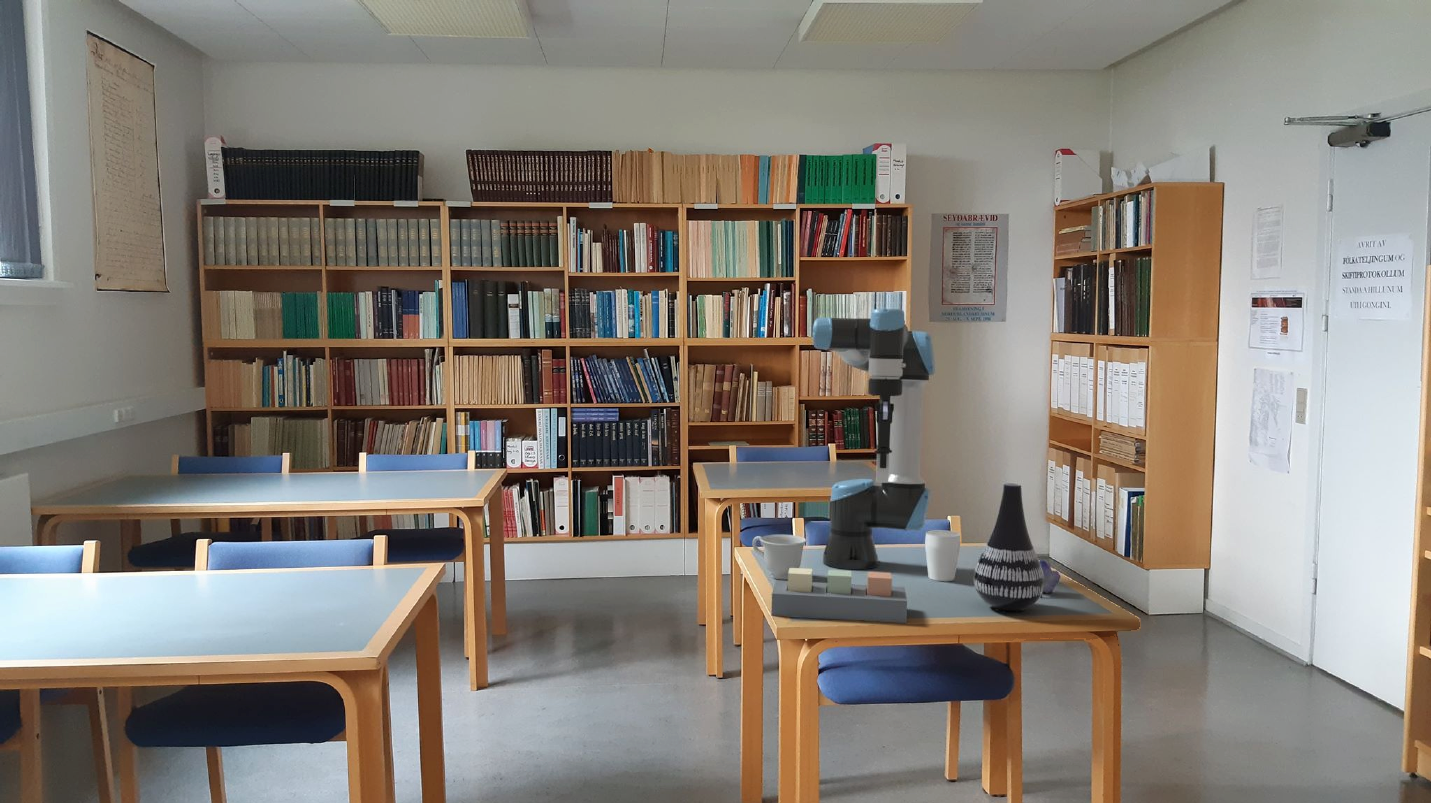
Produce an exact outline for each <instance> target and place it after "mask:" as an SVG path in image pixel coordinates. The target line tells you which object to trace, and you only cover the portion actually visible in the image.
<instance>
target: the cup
mask: <svg viewBox="0 0 1431 803" xmlns="http://www.w3.org/2000/svg"><path fill="white" fill-rule="evenodd" d="M924 547H925V556H926V566H927V576H928V579H929V580H933V581H936V582H952V581H954V580H955V576H956V571H957V566H958V561H959V555H960V550H961V549H960V548H961V534H960V533H959V532H957V531H953V530H947V529H946V530H945V529H933V530H932V529H931V530H927V531H925V539H924Z"/></svg>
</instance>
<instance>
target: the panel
mask: <svg viewBox="0 0 1431 803" xmlns="http://www.w3.org/2000/svg"><path fill="white" fill-rule="evenodd" d="M827 587H828V582H817V581H815V582H814V581H812V592H798V591H788V580H781V579H776V580H775V583H774V585H773V589H772V592H771V611H770V612H771V614H770V615H771V616H775V617H776V616H777V617H793V618H794V617H795V618H811V619H812V618H813V619H831V620H843V621H844V620H848V621H860V620H865V621H864V622H877V621H879V622H880V623H883V622H884V623H895V624H896V623H899V624H907V617H908V614H907V612H908V600H907V594H906V589H905V586H892V587H891V597H890V596H871V595H867V584H856V583H855V584H852V583H851V594H835V593H827ZM879 622H878V623H879Z"/></svg>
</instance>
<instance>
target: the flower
mask: <svg viewBox="0 0 1431 803" xmlns="http://www.w3.org/2000/svg"><path fill="white" fill-rule="evenodd" d="M1039 562H1040V564H1041V567H1042V570H1043V574H1044V590H1043V592H1042V593H1045V594H1051V593H1052V592H1053V591H1054V590H1055V587H1056V586H1057V584H1059V582H1060V579H1061V574H1060V573H1059V571H1058V570H1055V569H1052V565H1051V563H1050V562H1048V563H1047V562H1046V561H1045V560H1043V559H1041V558H1039ZM1042 598H1043V594H1042V595H1041V596H1040V598H1039V599H1042Z"/></svg>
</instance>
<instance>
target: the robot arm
mask: <svg viewBox="0 0 1431 803" xmlns="http://www.w3.org/2000/svg"><path fill="white" fill-rule="evenodd" d="M905 323H906V320H905V311H904V310H903V309H898V308H874V309H873V310H871V313H870V318H864V317H863V318H860V317H859V318H858V317H857V318H850V317H849V318H848V317H847V318H845V317H829V316H827V317H820V318H819V317H817V318H816V319H815V320H814V322H813V325H812V326H813V327H812V344H813V346H814V348H815V349H817V350H825V351H829V350H831V351H834V352H836V353H837V354H838V355H839V358H840V359H841V360H842V361H843V362H844V363H845V364H846V365H848V366H850V367H853V368H854V369H857V370H860V371H864V372H868V375H869V376H870V378H869V379H868V384H867V386H868V387H867V388H868V390H867V393H868V395H870V396H876V397H877V396H879V399H878V400H879V401H878V402H875V411H876V417H875V418H876V422H877V444H876V447H877V449H876V450H874V454H875V455H876V470H875V471H876V472H875V473H876V474H875V475H876V476H875V482H874V479H871V478H858V479H847V480H842V481H838V482H835V483H834V484H833V485H832V486H831V491H830V492H831V493H830V500H829V501H830V517H829V518H830V521H829V522H830V525H829V528H830V529H829V536H828V539H827V542H826V545H825V549H824V551H823V554H822V563H823V564H824V565H826V566H827V567H828V566H829V567H831V568H837V569H842V570H843V569H845V570H869V569H873V568H876V567H877V566H878V565H879V555H878V553H877V550H876V549H877V548H876V546H875V542H874V539H873V538H874V537H873V529H886V530H899V531H900V530H901V531H904V532H907V531H921V530H922V529H923V528H924V526H925V524H926V518H927V514H928V510H929V509H928V508H929V503H930V498H931V497H930V495H931V489H929V488H928V487H926V481H925V480H924V479H923V477H921V475H920V474H921V473H920V472H921V448H922V447H921V446H922V444H921V443H922V421H923V420H922V417H923V416H922V415H923V393H924V392H923V390H924V387H925V386H926V385H927V384H928V383H929V382H930V376H933V375H935V372H936V370H935V368H936V367H935V354H934V352H935V351H934V345H933V339H932V336H931V335H930V334H929V333H928V332H926V331H918V330H909V329H908V326H907V324H905ZM875 483H881V485H876V484H875Z"/></svg>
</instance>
